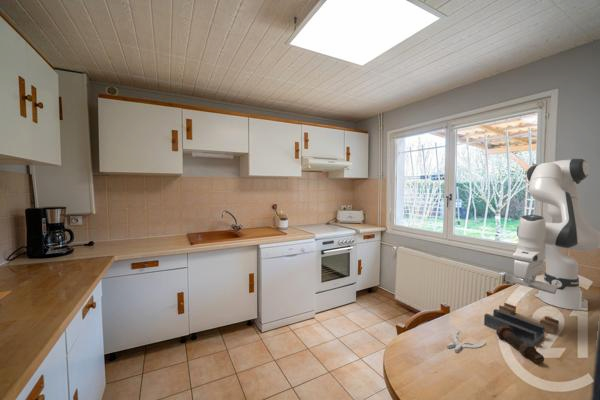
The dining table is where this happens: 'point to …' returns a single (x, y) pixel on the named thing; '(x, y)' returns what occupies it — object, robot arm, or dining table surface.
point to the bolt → (519, 344)
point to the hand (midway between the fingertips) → (529, 284)
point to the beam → (548, 323)
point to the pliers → (459, 345)
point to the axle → (532, 284)
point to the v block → (516, 326)
